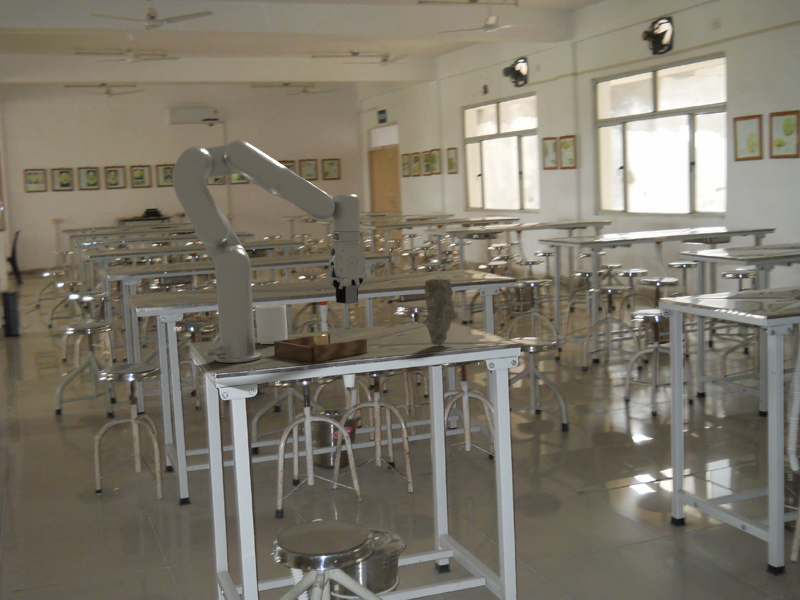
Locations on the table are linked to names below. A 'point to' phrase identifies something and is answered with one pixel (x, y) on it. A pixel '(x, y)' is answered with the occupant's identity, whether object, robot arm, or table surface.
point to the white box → (271, 323)
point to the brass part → (320, 339)
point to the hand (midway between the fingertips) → (347, 301)
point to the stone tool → (439, 309)
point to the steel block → (350, 293)
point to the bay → (318, 349)
